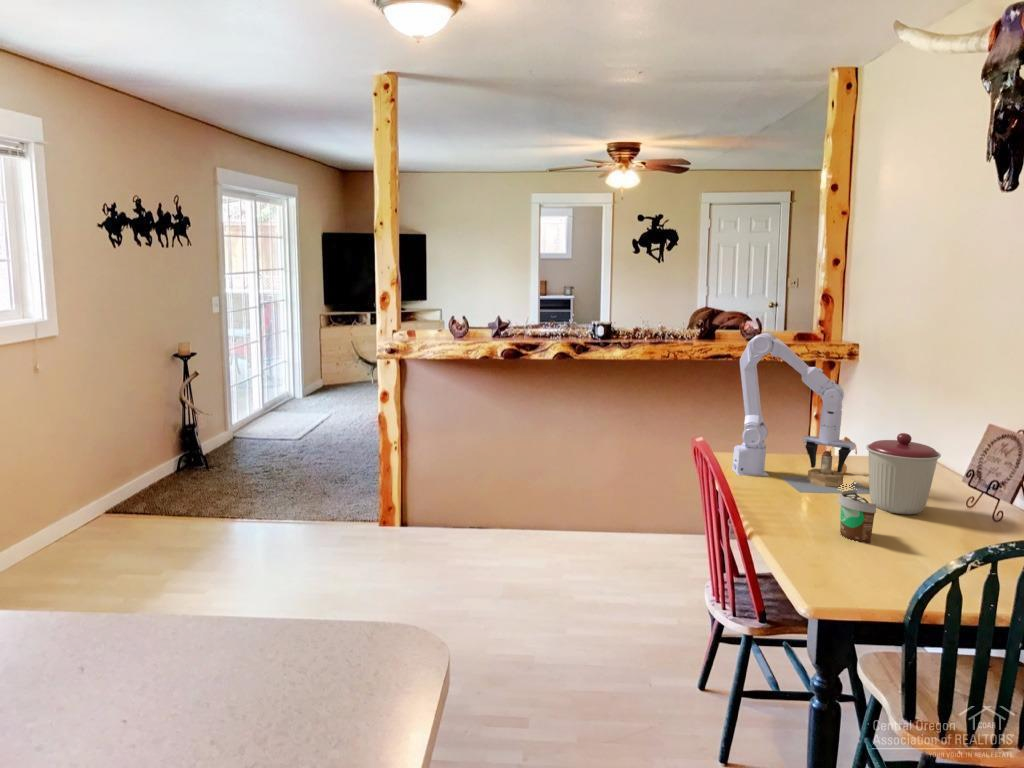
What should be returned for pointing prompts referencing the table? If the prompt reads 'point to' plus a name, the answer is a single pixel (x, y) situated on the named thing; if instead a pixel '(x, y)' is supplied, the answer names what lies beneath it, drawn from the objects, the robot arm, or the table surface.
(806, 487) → the felt mat
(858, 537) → the food container
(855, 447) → the figurine
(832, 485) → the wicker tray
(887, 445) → the canister
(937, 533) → the table surface
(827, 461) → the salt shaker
